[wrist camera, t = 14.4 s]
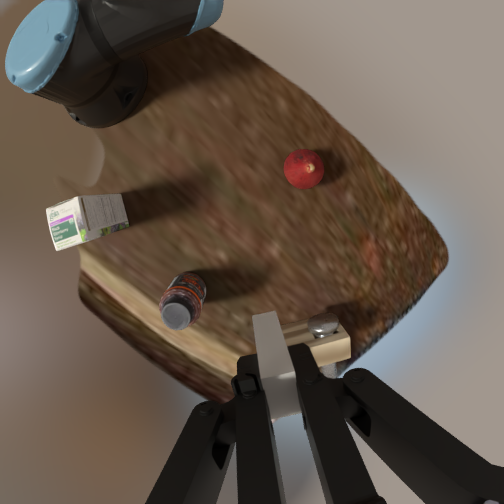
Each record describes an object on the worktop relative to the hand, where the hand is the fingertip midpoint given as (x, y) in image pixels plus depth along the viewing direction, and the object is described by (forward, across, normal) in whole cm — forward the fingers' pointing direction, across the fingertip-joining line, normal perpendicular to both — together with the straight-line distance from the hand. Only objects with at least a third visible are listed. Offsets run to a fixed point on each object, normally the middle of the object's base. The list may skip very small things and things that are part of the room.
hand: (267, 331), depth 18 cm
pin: (+26, -9, +20) cm, 34 cm away
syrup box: (+29, +21, -10) cm, 37 cm away
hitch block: (+28, -6, +17) cm, 34 cm away
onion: (+29, -10, -10) cm, 32 cm away
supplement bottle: (+29, +11, +5) cm, 31 cm away
